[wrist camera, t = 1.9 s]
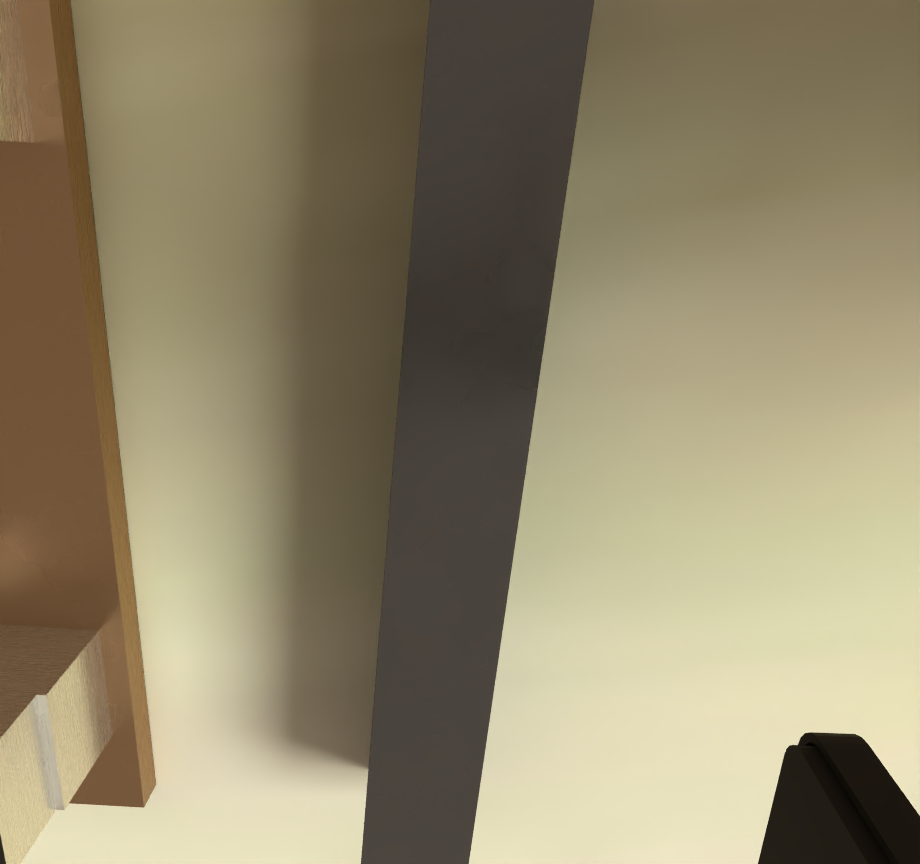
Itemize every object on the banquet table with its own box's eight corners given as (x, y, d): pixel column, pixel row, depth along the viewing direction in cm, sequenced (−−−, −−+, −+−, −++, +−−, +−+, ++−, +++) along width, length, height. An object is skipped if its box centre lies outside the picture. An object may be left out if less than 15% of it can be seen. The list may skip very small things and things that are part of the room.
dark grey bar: (582, -96, 17) (622, -194, 13) (465, 773, 26) (462, 906, 21) (455, -111, 17) (447, -215, 13) (379, 765, 26) (358, 897, 21)
